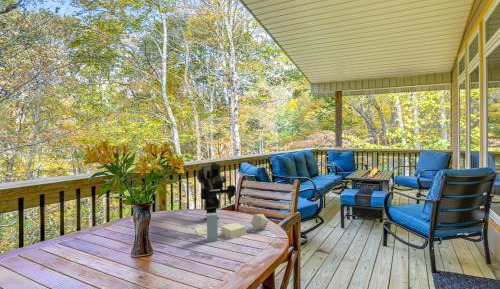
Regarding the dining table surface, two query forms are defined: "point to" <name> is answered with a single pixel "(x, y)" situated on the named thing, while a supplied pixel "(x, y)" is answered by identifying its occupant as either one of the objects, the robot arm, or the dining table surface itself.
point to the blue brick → (212, 227)
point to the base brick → (233, 230)
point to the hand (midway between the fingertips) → (221, 201)
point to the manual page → (201, 230)
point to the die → (259, 222)
